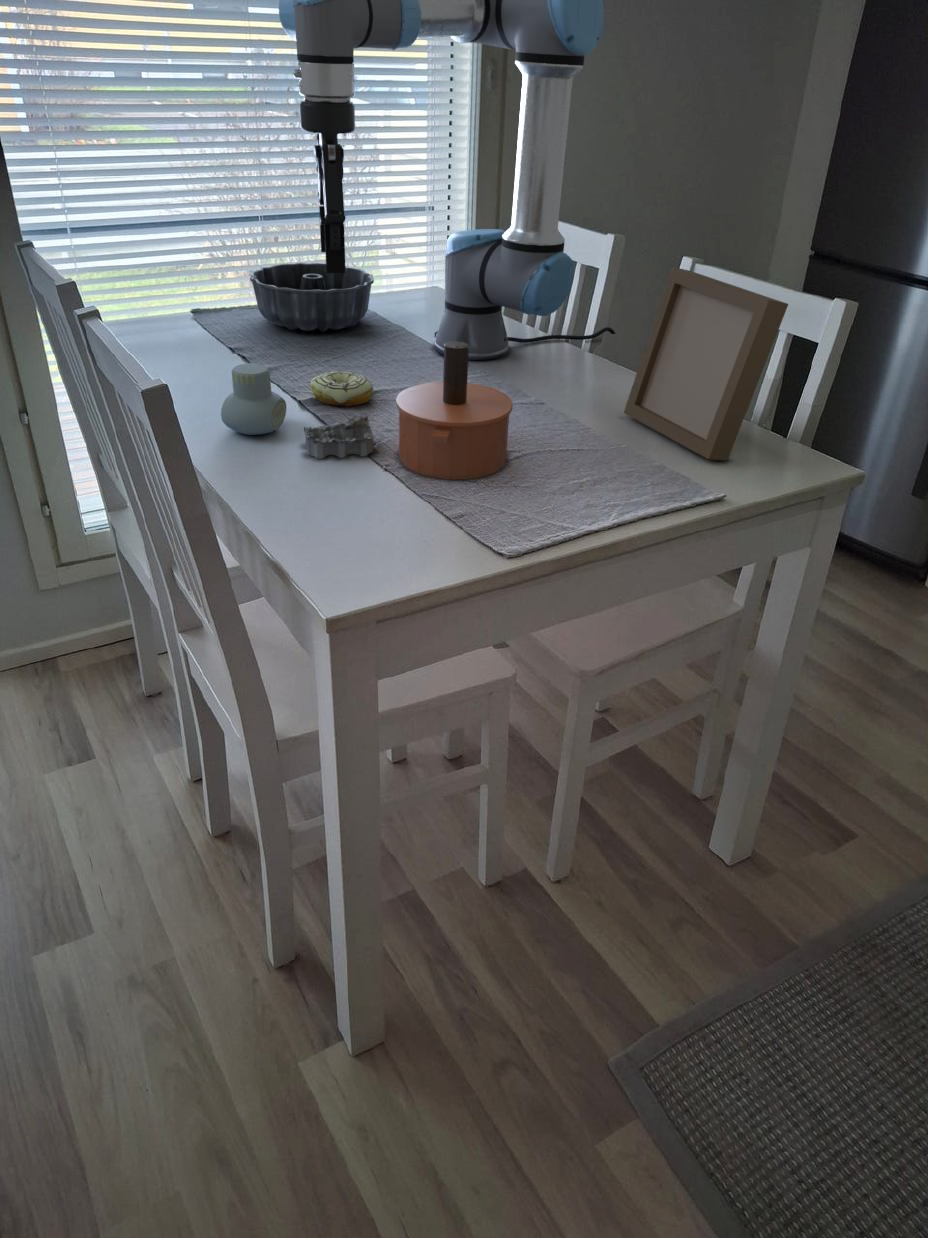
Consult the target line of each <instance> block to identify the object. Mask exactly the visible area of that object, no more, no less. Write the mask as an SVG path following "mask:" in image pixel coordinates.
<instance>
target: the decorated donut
mask: <svg viewBox="0 0 928 1238" xmlns="http://www.w3.org/2000/svg"><path fill="white" fill-rule="evenodd" d="M310 389H311V391H312V393H313V395H314V397H315V398H316V399H317V400H318V401H320V402H321V403H323V404H326V405H332V406H340V407H343V406H344V407H350V406H351V407H352V406H359V405H361V404H366V403H367V402H368V401H369V400H370V399H371V397H372V393H373V391H374V386H373V383H372V382H371V380H370V379H369V378H368V377H366V376H365V375H362V374H359V373H358V372H357V373H356V372H352V371H345V370H334V371H327V372H324V373H321V374H318V375H316V376H315V377H313V378H312V379H311V381H310Z"/></svg>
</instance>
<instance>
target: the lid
mask: <svg viewBox="0 0 928 1238" xmlns="http://www.w3.org/2000/svg"><path fill="white" fill-rule="evenodd" d="M468 354H469V345H468V344H467V343H464V342H460V341H451V342H447V343H445V344H444V355H443V376H442V381H433V382H426V383H420V384H415V385H413V386H410V387H408V388H405V389H403V390H402V391H400V392H399V393H398V395H397V397H396V398H395V405H396V408H397V410H398V411H399V410H400V411H401V412H402V413H403V414H404V415H406V416H408V417H410V418H412V419H415V420H418V421H421V422H425V423H429V424H434V425H441V426H456V427H465V426H478V425H484V424H489V423H493V422H496V421H499V420H501V419H503V418H505V417H507V416H508V415H509V416H510V414H511V412H512V411H513V407H514V406H513V405H514V404H513V401H512V398H511V397H510V396H509V395H507V394H506V393H504V392H503V391H501V390H499V389H497V388H494V387H491V386H487V385H483V384H479V383H473V382H468V375H469V360H468Z"/></svg>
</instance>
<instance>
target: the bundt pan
mask: <svg viewBox="0 0 928 1238" xmlns="http://www.w3.org/2000/svg"><path fill="white" fill-rule="evenodd" d="M345 270H346V273H326V262H325V263H323V262H309V263H308V262H295V263H278V264H273V265H270V266H262V267H259V269H256V270H253V271H251V272H250V277H249V281H250V282H251V283H252V287H253V292H254V296H255V300H256V301H255V302H256V304H257V308H258V311H259V313H260V315H261V316H262V317H263V318H264V319H265V320H267V321H268V322H270V323H272V324H274V325H276V326H279V327H282V328H287V330H289V331H296V330H298V329H299V330H301V331H304V332H312V331H314V330H318V331H320V332H322V333H325V332H326V331H328V330H329V329H330V330H334V331H336V330H337V331H338V330H342V329H345V328H346V329H347V328H352V327H354V326H356V324H358V323H359V322H360V321H361V320H362V319H363V318H364V317H365V316H366V314H367V311H368V309H369V303H370V296H371V289H372V285H373V284H374V282H375V278H374V277H373V274H372V273H369V272H367V271H365V270H364V269H361V268H357V267H350V266H347V265H345Z"/></svg>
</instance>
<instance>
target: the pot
mask: <svg viewBox="0 0 928 1238" xmlns="http://www.w3.org/2000/svg"><path fill="white" fill-rule="evenodd" d="M509 423H510V414H509V415H508V416H507V417H505V418H503V419H501V420H499V421H496V422H493V423H489V424H484V425H478V426H465V427H456V426H441V425H434V424H429V423H425V422H421V421H418V420H415V419H412V418H410V417H408V416H406V415H404V414H403V413H402V412H401V411H400V410H399V409H398V454H399V455H398V456H399V460H400V462H401V463H402V465H403V466H405V467H406V468H407V469H409V470H410V471H412V472H415V473H416V474H419V475H422V476H426V477H431V478H436V479H442V480H472V479H478V478H482V477H483V478H484V477H486V476H489V475H492V474H495V473H496V472H498V471H499V470H500V469H502V468H503V467H504V466H505V463H506V460H507V459H506V458H507V453H508V452H507V451H508V450H507V449H508V437H509V425H510V424H509Z"/></svg>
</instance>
